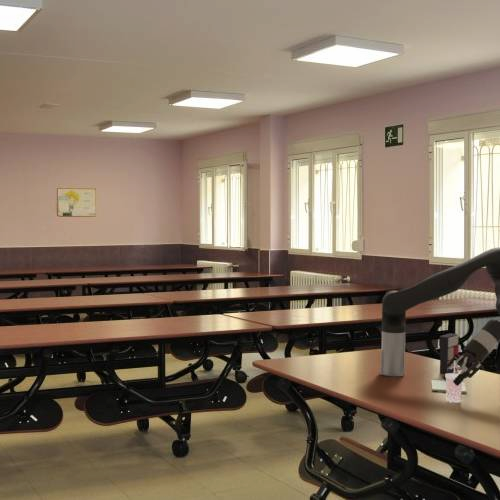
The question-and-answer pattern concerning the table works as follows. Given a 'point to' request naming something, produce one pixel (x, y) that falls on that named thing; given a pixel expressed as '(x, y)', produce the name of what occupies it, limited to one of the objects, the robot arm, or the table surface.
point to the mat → (444, 386)
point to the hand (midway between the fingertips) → (449, 381)
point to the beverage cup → (453, 388)
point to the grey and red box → (447, 350)
